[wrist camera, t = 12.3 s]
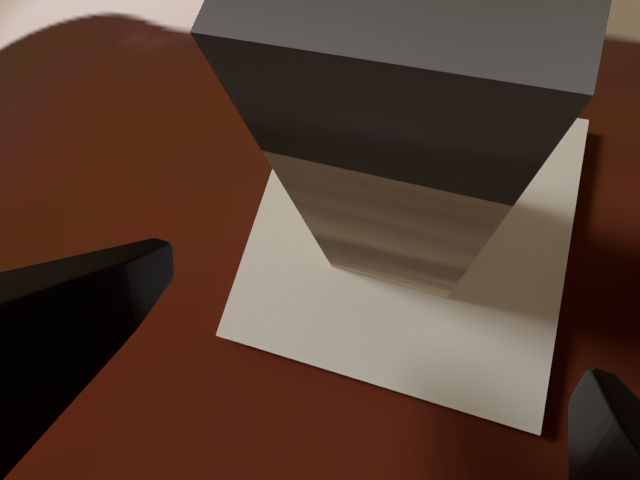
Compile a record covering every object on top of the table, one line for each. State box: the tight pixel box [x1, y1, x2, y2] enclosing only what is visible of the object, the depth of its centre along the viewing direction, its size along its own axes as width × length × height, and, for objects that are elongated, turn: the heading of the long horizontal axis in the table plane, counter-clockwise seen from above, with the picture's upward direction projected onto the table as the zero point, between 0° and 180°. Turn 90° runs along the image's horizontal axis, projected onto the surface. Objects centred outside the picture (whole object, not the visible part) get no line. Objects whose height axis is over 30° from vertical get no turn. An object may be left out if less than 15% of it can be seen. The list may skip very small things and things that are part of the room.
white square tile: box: [216, 118, 589, 436], centre depth 17 cm, size 12×12×1 cm
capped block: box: [190, 0, 611, 298], centre depth 11 cm, size 4×4×12 cm
